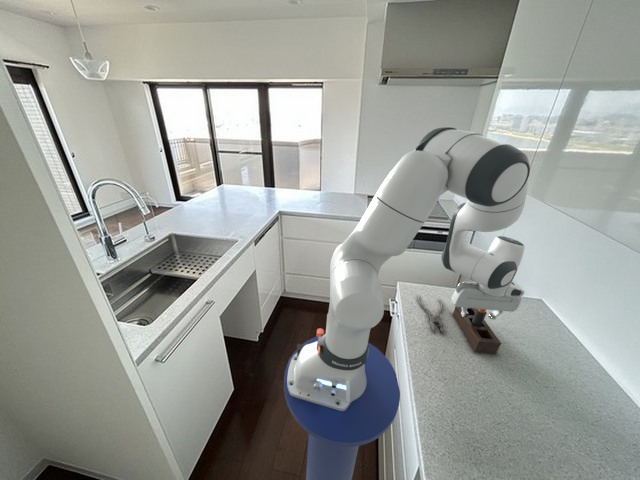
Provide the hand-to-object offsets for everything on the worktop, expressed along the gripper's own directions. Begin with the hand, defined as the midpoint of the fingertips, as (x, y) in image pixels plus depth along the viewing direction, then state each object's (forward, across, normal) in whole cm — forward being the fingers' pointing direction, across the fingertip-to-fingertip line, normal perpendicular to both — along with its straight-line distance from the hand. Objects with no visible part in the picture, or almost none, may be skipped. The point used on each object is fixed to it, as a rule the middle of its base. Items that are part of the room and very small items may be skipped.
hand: (477, 316), depth 88 cm
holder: (+7, 0, 0) cm, 7 cm away
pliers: (+7, -9, +8) cm, 15 cm away
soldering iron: (+7, 0, 0) cm, 7 cm away
